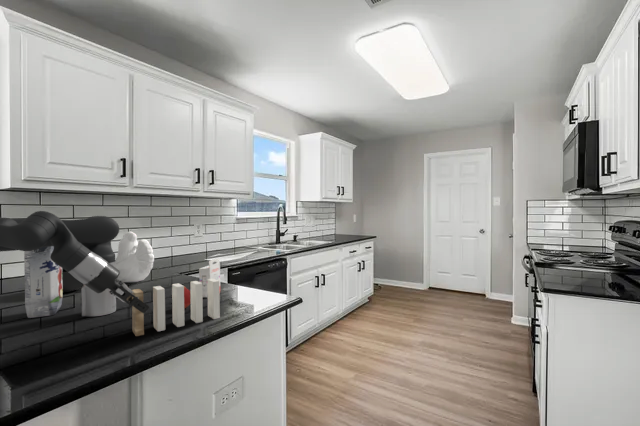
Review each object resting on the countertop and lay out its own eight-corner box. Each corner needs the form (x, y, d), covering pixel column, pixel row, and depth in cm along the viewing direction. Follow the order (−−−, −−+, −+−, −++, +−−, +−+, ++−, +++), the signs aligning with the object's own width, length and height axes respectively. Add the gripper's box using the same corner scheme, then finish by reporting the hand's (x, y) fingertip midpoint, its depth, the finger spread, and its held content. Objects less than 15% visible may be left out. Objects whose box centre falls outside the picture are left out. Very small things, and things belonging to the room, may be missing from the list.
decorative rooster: (107, 281, 166) (106, 231, 166) (141, 276, 178) (140, 230, 178) (126, 288, 150) (125, 233, 150) (161, 282, 162) (160, 231, 162)
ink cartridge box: (210, 292, 142) (209, 257, 142) (220, 292, 141) (220, 258, 141) (198, 297, 134) (198, 260, 134) (210, 297, 133) (209, 261, 133)
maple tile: (135, 336, 93) (135, 293, 92) (132, 331, 97) (131, 289, 96) (143, 334, 94) (143, 292, 94) (140, 329, 98) (139, 288, 98)
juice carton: (23, 320, 108) (21, 236, 107) (32, 311, 117) (31, 234, 117) (57, 315, 112) (56, 235, 112) (64, 307, 121) (63, 233, 121)
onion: (178, 306, 121) (178, 284, 121) (195, 305, 122) (194, 284, 122) (172, 311, 116) (172, 288, 115) (190, 310, 116) (189, 287, 116)
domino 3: (196, 323, 103) (195, 284, 103) (190, 319, 107) (190, 281, 107) (202, 321, 104) (202, 283, 104) (197, 317, 108) (196, 280, 108)
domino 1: (157, 331, 96) (157, 289, 96) (153, 326, 100) (152, 286, 100) (165, 329, 97) (164, 288, 97) (160, 325, 101) (160, 285, 101)
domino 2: (177, 327, 100) (176, 287, 99) (172, 322, 104) (172, 284, 103) (184, 325, 101) (183, 286, 101) (179, 321, 105) (178, 283, 105)
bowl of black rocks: (38, 300, 132) (37, 252, 132) (36, 291, 147) (36, 248, 147) (98, 291, 145) (97, 248, 145) (91, 284, 160) (91, 245, 160)
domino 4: (213, 319, 106) (213, 281, 106) (207, 315, 110) (207, 279, 110) (219, 318, 108) (219, 280, 108) (213, 314, 112) (213, 278, 112)
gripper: (80, 279, 93) (128, 312, 100) (84, 288, 82) (138, 324, 89) (103, 258, 96) (147, 291, 103) (110, 264, 85) (159, 301, 92)
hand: (143, 306), depth 96 cm, fingers open, 8 cm apart
